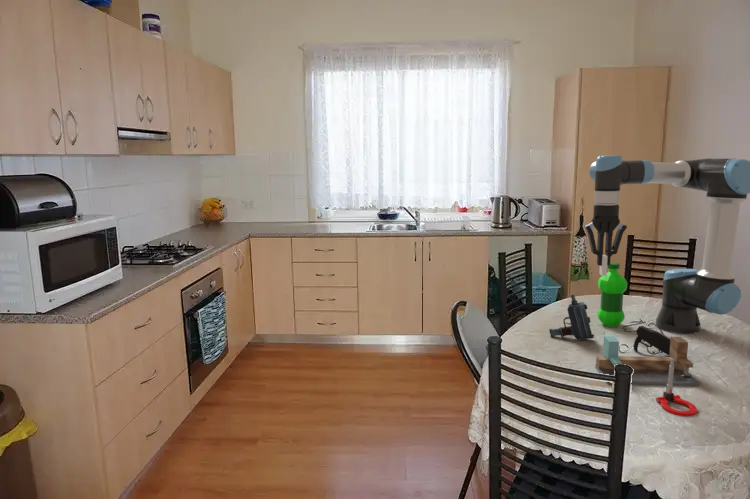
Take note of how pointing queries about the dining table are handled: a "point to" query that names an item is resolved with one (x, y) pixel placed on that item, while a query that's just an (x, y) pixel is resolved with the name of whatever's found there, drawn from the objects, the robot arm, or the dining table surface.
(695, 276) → the robot arm
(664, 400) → the tow hook
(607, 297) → the plastic bottle
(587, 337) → the gun
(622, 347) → the dining table surface
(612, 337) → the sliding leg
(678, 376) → the bolt plate
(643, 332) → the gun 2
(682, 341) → the wooden clamp
